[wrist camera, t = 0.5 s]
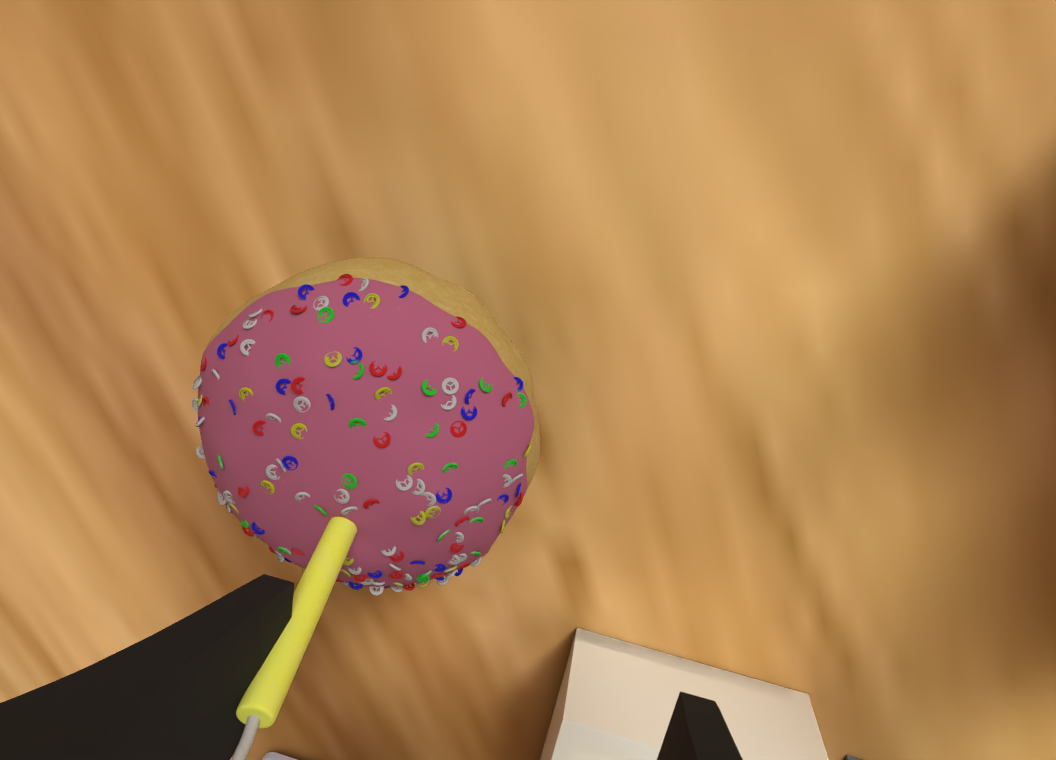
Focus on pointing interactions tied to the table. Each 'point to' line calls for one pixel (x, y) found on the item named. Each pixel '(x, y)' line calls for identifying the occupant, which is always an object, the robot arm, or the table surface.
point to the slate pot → (851, 758)
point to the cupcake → (363, 438)
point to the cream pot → (667, 706)
